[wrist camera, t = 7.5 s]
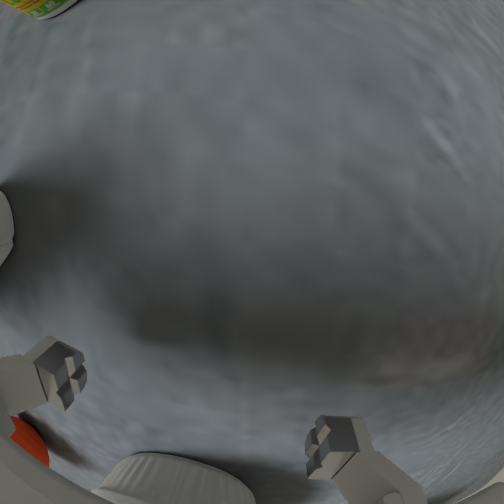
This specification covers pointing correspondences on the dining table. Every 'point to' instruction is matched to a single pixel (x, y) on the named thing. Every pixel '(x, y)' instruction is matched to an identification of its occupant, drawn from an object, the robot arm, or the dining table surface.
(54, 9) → the supplement bottle
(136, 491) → the ramekin
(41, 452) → the red tomato
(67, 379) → the robot arm
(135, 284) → the dining table surface
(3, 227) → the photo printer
